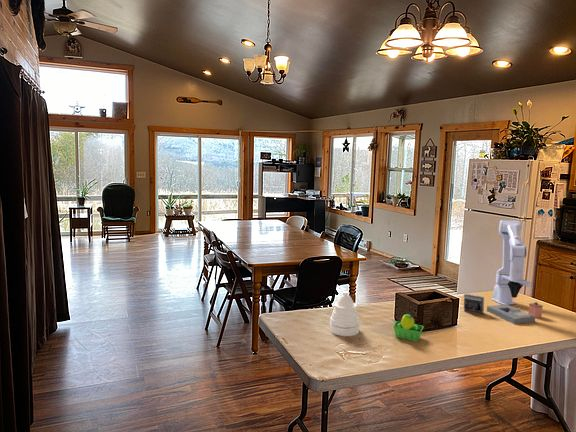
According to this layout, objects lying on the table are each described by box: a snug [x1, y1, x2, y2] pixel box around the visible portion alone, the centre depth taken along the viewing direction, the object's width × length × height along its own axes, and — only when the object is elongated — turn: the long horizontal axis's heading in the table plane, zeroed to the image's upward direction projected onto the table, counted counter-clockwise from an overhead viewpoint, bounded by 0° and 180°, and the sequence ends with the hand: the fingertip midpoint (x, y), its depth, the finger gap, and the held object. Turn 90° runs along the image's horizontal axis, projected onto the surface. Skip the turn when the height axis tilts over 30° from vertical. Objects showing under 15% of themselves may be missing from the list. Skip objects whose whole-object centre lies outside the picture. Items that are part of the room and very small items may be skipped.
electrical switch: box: [463, 292, 485, 315], centre depth 218 cm, size 9×5×9 cm, turn 57°
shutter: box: [509, 307, 530, 318], centre depth 208 cm, size 6×6×2 cm
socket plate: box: [486, 304, 536, 325], centre depth 213 cm, size 18×12×2 cm, turn 16°
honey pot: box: [329, 290, 360, 337], centre depth 192 cm, size 13×13×18 cm
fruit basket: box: [392, 313, 424, 342], centre depth 185 cm, size 11×9×11 cm
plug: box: [527, 301, 544, 319], centre depth 214 cm, size 4×4×7 cm
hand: (514, 297), depth 213 cm, fingers closed
